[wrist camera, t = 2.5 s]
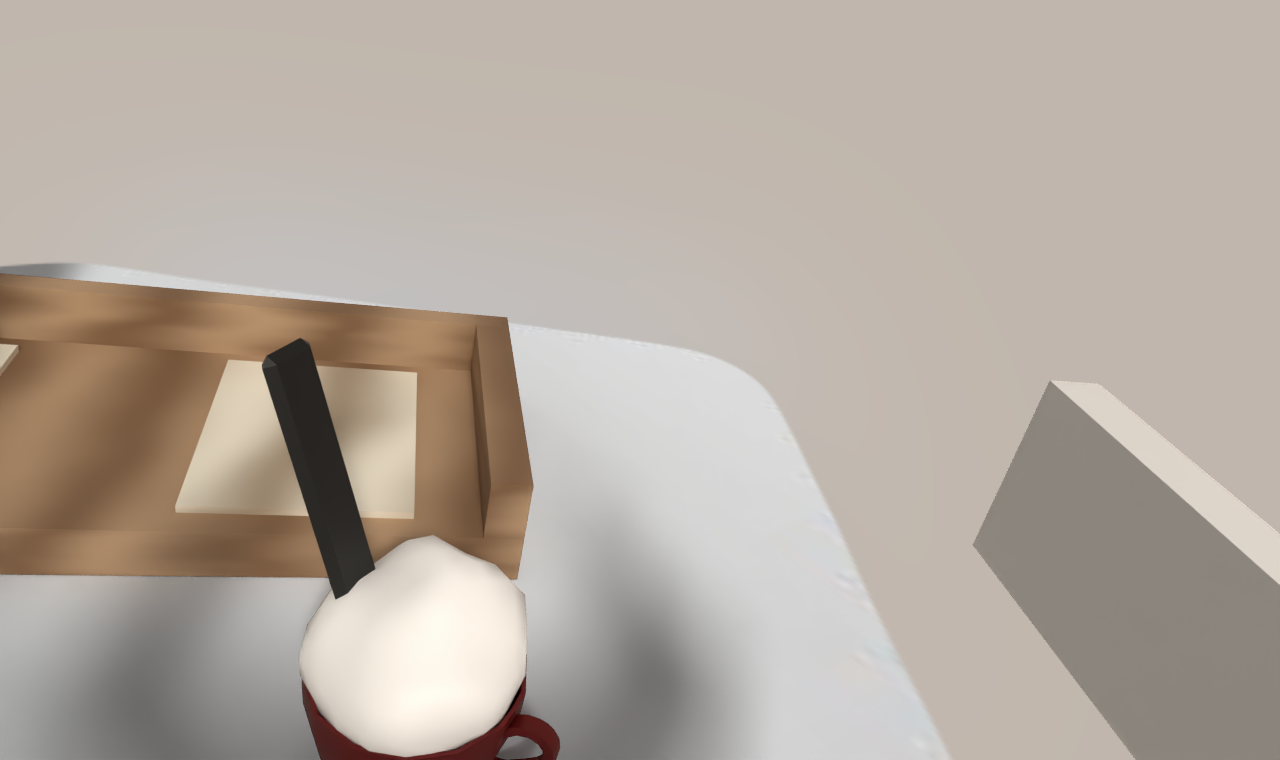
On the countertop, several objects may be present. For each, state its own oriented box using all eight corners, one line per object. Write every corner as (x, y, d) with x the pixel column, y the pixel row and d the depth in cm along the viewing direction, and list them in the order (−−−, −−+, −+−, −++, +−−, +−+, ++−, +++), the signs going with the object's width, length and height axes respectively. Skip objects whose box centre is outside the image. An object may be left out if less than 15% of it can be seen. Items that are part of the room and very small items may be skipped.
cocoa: (569, 797, 28) (677, 490, 22) (391, 927, 23) (467, 586, 18) (396, 601, 33) (446, 308, 27) (221, 677, 28) (236, 346, 22)
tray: (-501, 569, 27) (-571, 444, 25) (-234, 350, 38) (-266, 250, 35) (516, 579, 35) (533, 485, 33) (496, 396, 46) (507, 317, 43)
